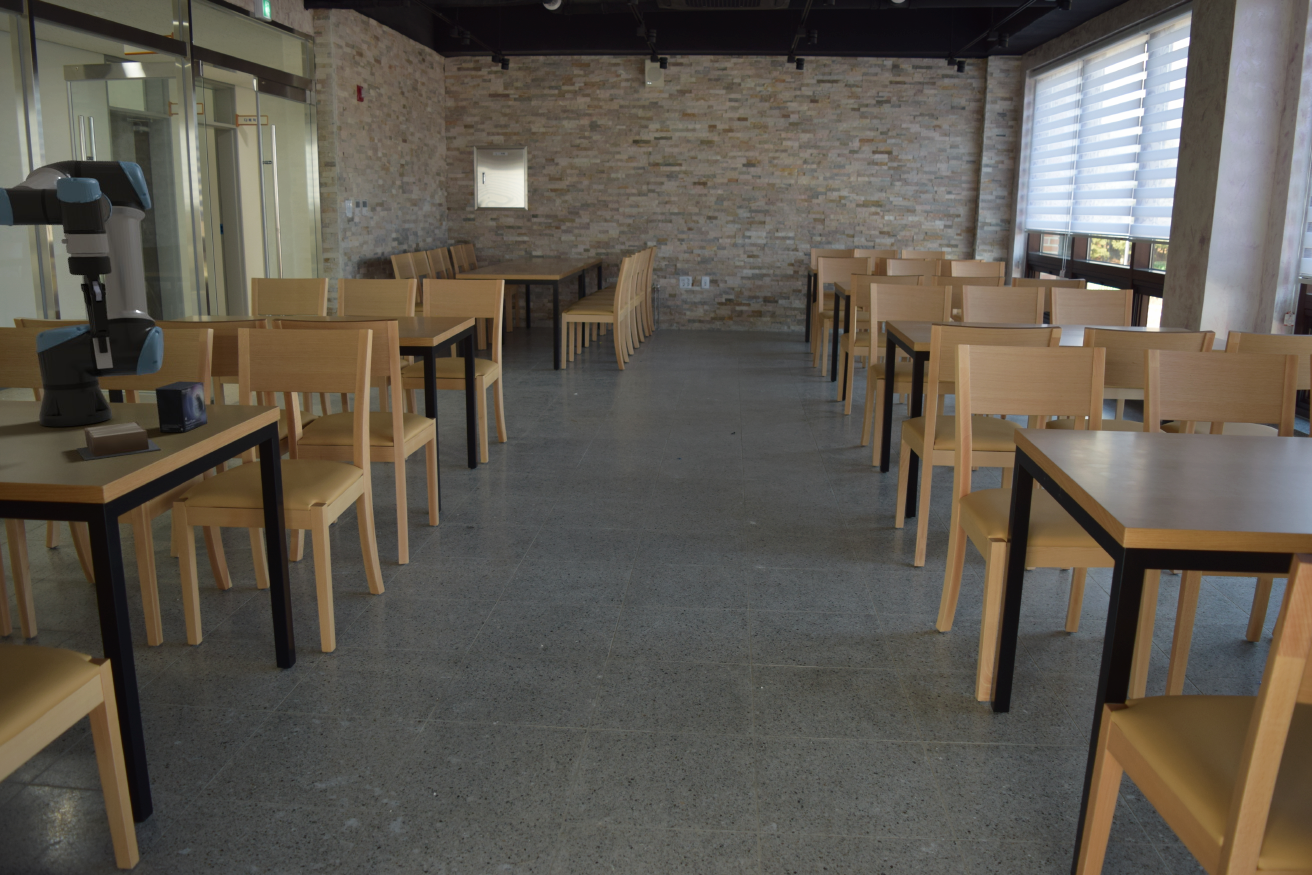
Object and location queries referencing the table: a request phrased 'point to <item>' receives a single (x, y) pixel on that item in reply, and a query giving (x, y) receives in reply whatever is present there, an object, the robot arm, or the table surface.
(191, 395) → the small box
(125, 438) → the brown rectangular box
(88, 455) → the mat
